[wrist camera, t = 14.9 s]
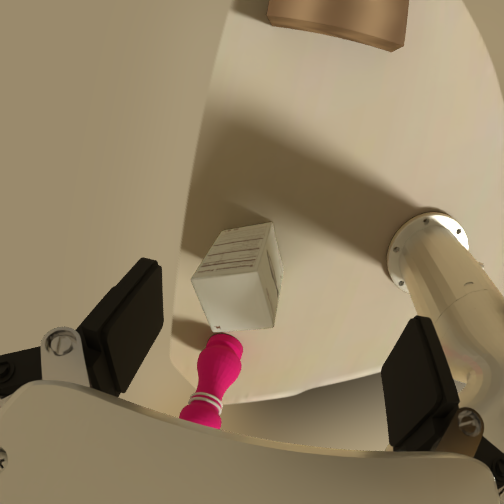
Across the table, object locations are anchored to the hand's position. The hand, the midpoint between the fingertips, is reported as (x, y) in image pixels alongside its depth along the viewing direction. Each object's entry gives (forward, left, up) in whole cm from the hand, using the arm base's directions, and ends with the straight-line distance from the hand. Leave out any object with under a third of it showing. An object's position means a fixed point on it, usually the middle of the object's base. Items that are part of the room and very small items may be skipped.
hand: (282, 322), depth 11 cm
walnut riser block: (-1, -23, -28) cm, 36 cm away
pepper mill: (+6, +33, -28) cm, 44 cm away
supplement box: (+4, +13, -28) cm, 32 cm away
